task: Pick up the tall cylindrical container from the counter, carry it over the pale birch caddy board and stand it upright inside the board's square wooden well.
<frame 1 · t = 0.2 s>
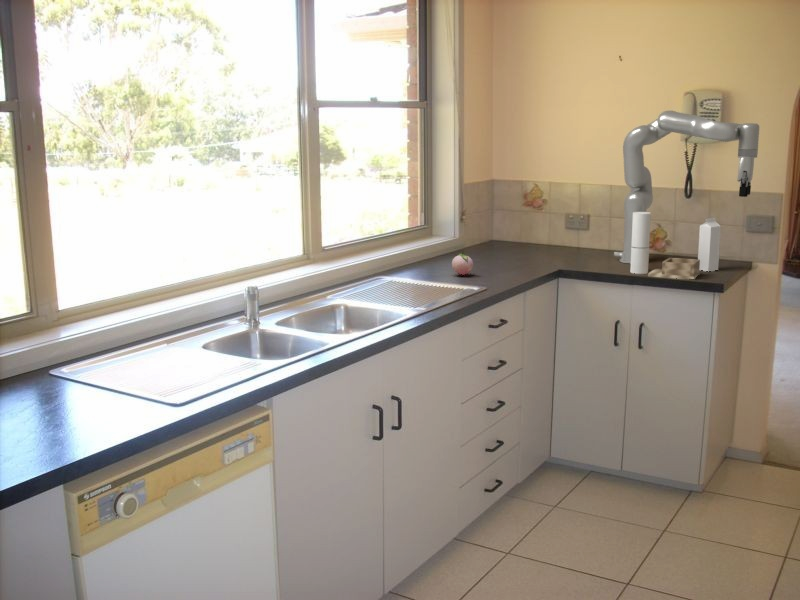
hand: (744, 195, 357), 31 cm above the table, tool pointing down, fingers open, 9 cm apart
caddy board: (674, 275, 352), on the table
decorative fruit: (461, 276, 357), on the table
milk: (707, 270, 362), on the table
cylindrical container: (639, 272, 359), on the table
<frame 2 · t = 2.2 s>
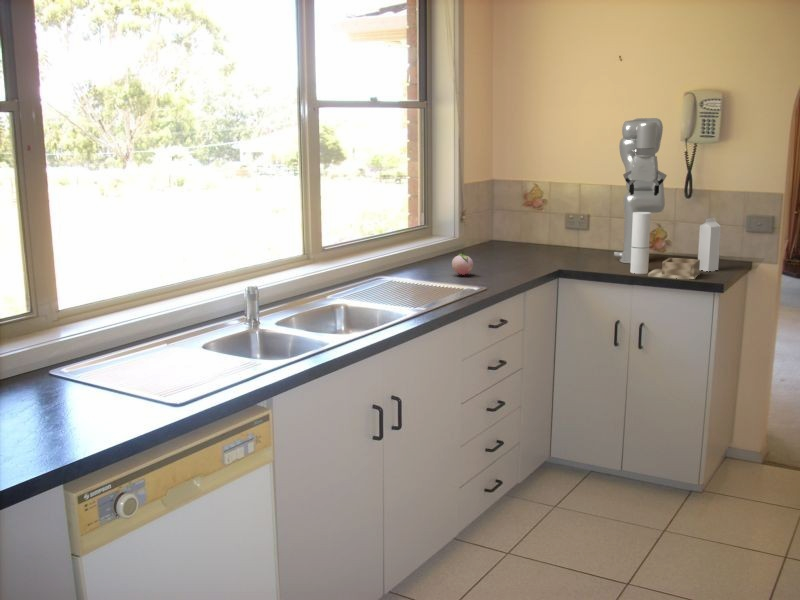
hand: (643, 194, 353), 32 cm above the table, tool pointing down, fingers open, 9 cm apart
nothing on the table moved.
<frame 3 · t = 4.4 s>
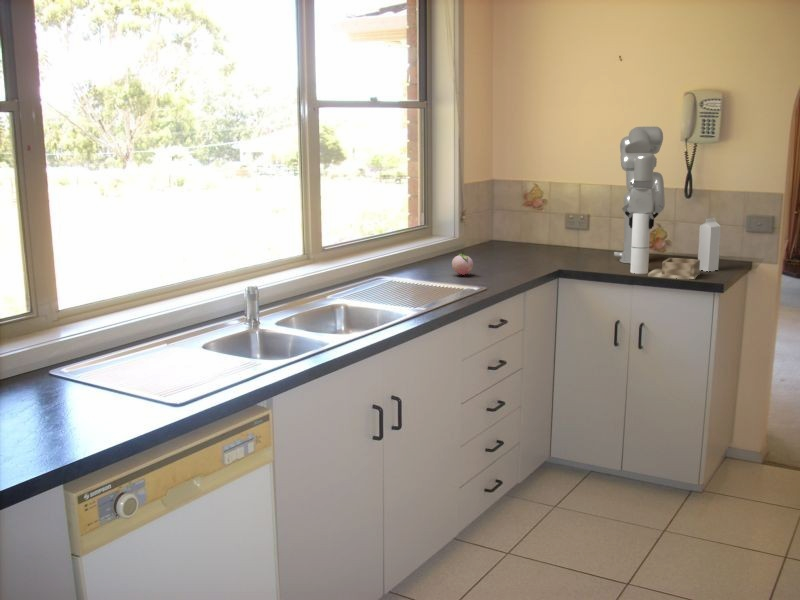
hand: (641, 227, 355), 19 cm above the table, tool pointing down, fingers closed on cylindrical container, 7 cm apart
cylindrical container: (639, 272, 359), on the table, touching gripper
everything else where it was.
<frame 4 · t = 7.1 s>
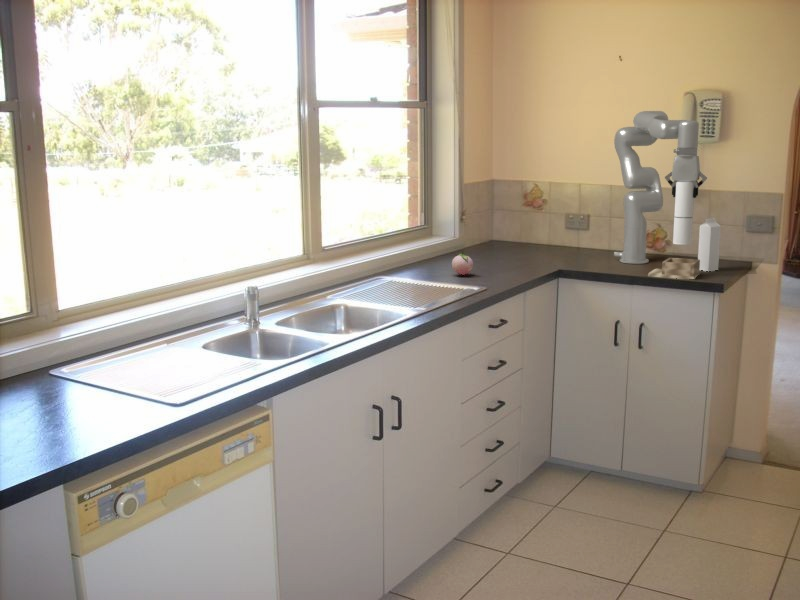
hand: (684, 196, 344), 32 cm above the table, tool pointing down, fingers closed on cylindrical container, 7 cm apart
cylindrical container: (682, 243, 348), point 13 cm above the table, touching gripper
everything else where it was.
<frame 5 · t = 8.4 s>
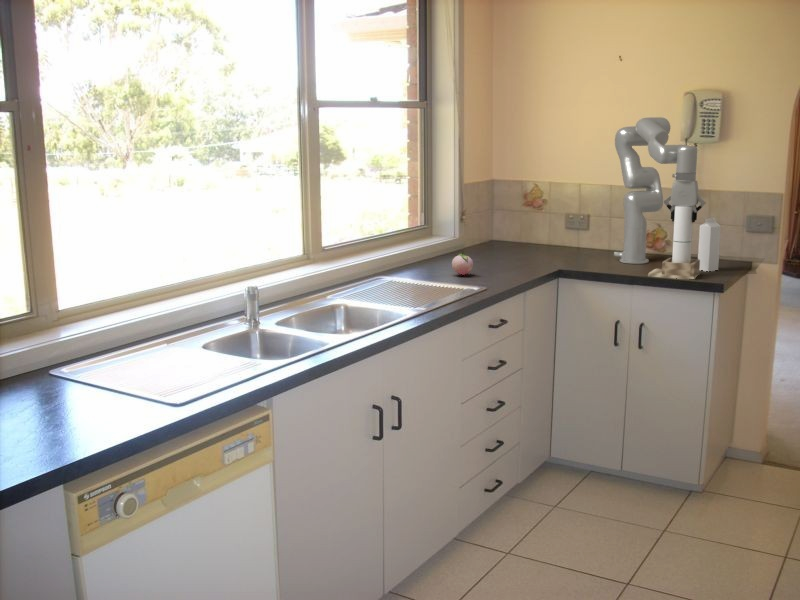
hand: (683, 221, 346), 22 cm above the table, tool pointing down, fingers closed on cylindrical container, 7 cm apart
cylindrical container: (680, 267, 349), point 3 cm above the table, touching gripper
everything else where it was.
when the fingers open (21 cm above the table, at t = 9.7 s): cylindrical container stays where it is, resting on caddy board.
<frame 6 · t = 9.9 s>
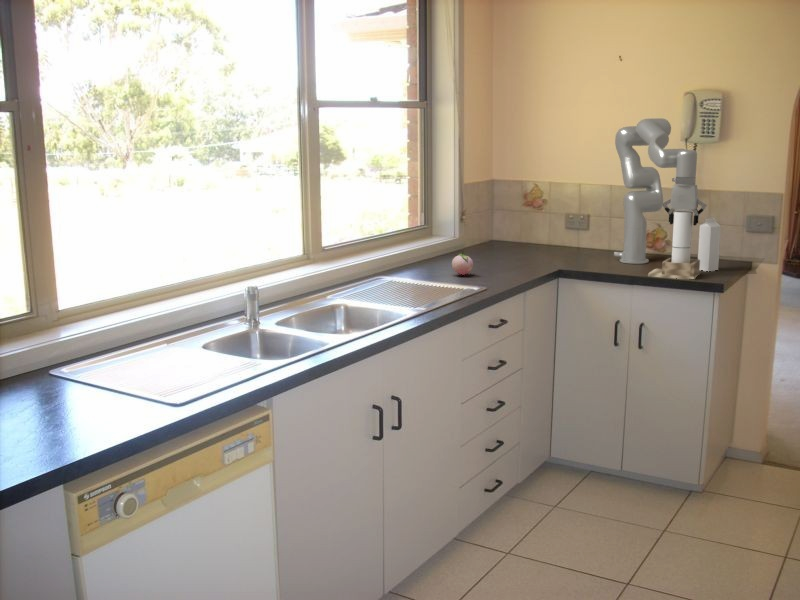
hand: (683, 224, 346), 21 cm above the table, tool pointing down, fingers open, 8 cm apart
cylindrical container: (680, 273, 350), point 1 cm above the table, touching caddy board
everything else where it was.
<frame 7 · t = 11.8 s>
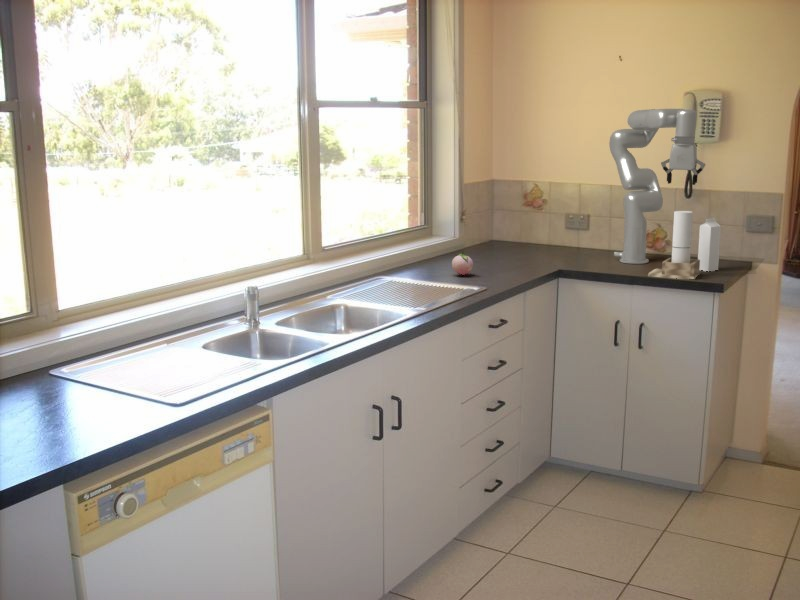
hand: (681, 183, 348), 37 cm above the table, tool pointing down, fingers open, 9 cm apart
nothing on the table moved.
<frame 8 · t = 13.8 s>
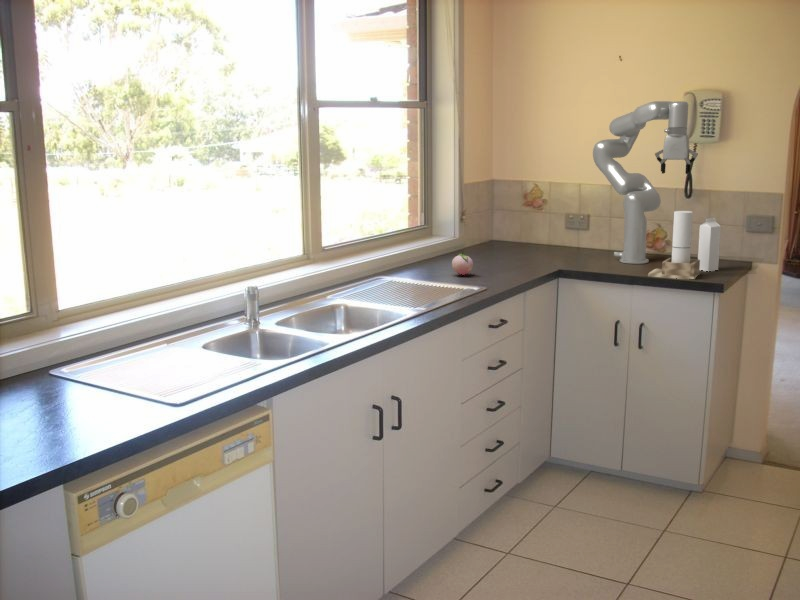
hand: (675, 173, 359), 40 cm above the table, tool pointing down, fingers open, 9 cm apart
nothing on the table moved.
at the end: cylindrical container inside the target area on the caddy board (0.2 cm from its centre), point 1.0 cm above the caddy board's base; cylindrical container tilted 0°; the gripper is holding nothing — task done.
